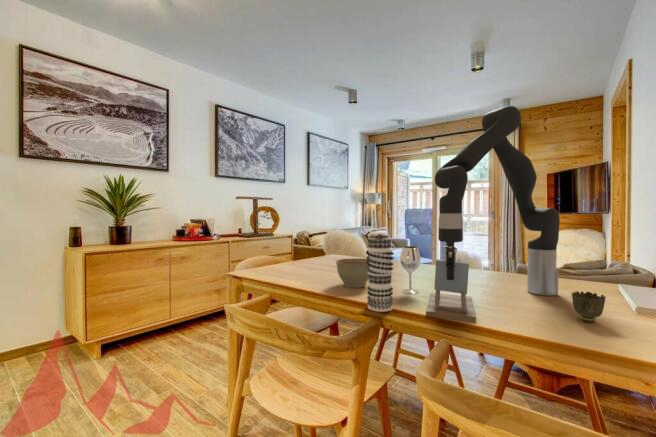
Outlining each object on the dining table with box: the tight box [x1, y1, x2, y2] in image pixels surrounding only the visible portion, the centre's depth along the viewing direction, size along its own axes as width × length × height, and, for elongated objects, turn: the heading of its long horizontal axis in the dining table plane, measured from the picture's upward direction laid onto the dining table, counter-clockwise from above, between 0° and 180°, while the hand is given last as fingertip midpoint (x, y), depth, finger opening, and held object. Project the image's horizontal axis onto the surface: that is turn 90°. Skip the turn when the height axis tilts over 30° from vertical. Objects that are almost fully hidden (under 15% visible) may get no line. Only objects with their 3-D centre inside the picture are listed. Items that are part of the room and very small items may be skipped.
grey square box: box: [433, 258, 470, 295], centre depth 100 cm, size 2×10×10 cm, turn 67°
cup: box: [571, 290, 607, 324], centre depth 87 cm, size 8×7×8 cm
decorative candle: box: [365, 232, 395, 313], centre depth 101 cm, size 9×9×25 cm
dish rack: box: [425, 290, 477, 323], centre depth 100 cm, size 22×14×6 cm, turn 158°
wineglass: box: [399, 245, 422, 295], centre depth 121 cm, size 8×8×18 cm
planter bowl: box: [335, 258, 369, 289], centre depth 132 cm, size 16×16×11 cm
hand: (450, 278), depth 100 cm, fingers closed on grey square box, 2 cm apart
